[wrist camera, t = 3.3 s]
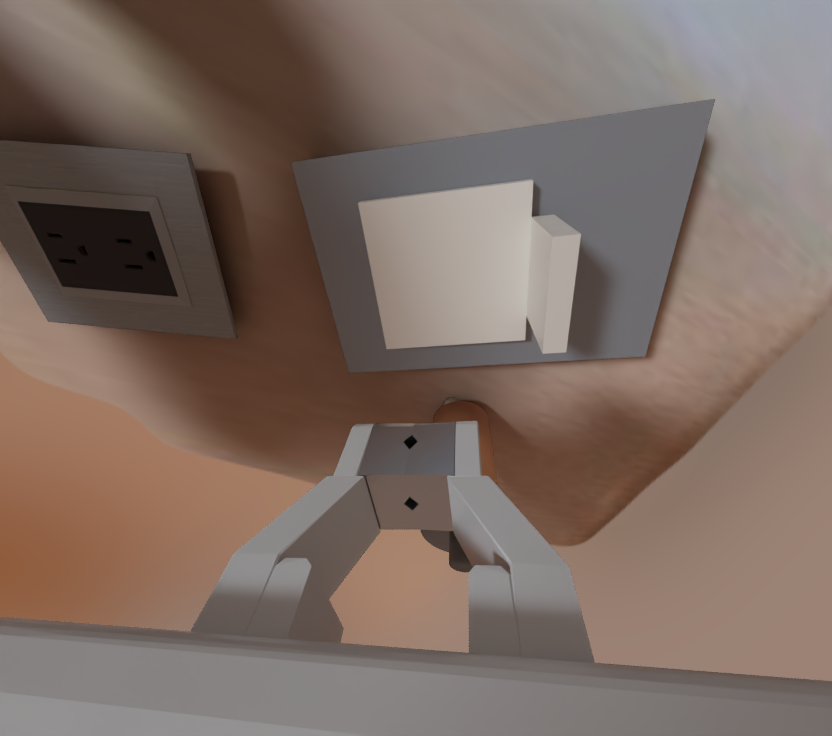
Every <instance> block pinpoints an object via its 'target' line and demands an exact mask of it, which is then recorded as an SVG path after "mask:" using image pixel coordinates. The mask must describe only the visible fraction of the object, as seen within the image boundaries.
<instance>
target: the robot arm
mask: <svg viewBox="0 0 832 736" xmlns="http://www.w3.org/2000/svg"><path fill="white" fill-rule="evenodd" d="M380 529H420V530H440V531H453V532H454V535H455V536H456V538H457V540H458V542H459V544H460V545H461V547H462V549H463V551H464V552H465V554H466V556H467V558H468V559H469V561H470V563H471V565H472V567H473V568H472V569H471V570H470V572H469V573H468V574H469V653H462V652H448V651H435V650H423V649H410V648H397V647H385V646H372V645H371V646H370V645H359V644H344V643H340V642H341V637H342V633H343V626H342V624H341V622H340V620H339V618H338V616H337V614H336V612H335V610H334V608H333V607H332V604H331V603H330V601H329V598H330V597H331V596H332V595H333V593H334V592H335V591H336V589H337V588H338V587H339V585H340V584H341V583H342V582H343V580H344V579H345V578H346V576H347V575H348V574H349V572H350V571H351V570H352V568H353V567H354V566H355V564H356V563H357V562H358V561H359V559H360V558H361V557H362V555H363V554H364V553H365V551H366V550H367V549H368V547H369V546H370V545H371V543H372V542H373V541H374V540H375V538H376V537H377V535H378V534H379V533H380ZM0 736H832V681H822V680H808V679H796V678H783V677H771V676H758V675H757V676H756V675H745V674H732V673H719V672H706V671H693V670H681V669H668V668H655V667H642V666H629V665H615V664H603V663H595V662H594V658H593V654H592V650H591V647H590V643H589V639H588V635H587V631H586V628H585V624H584V620H583V616H582V612H581V609H580V605H579V602H578V597H577V593H576V589H575V586H574V582H573V578H572V575H571V570H570V567H569V566H568V565H567V563H566V562H565V561H564V560H563V559H562V558H561V557H560V556H559V554H558V553H557V552H556V551H555V550H554V549H553V548H552V547H551V545H550V544H549V543H548V542H547V541H546V540H545V539H544V537H543V536H542V535H541V534H540V533H539V532H538V531H537V530H536V528H535V527H534V526H533V525H532V524H531V523H530V522H529V521H528V519H527V518H526V517H525V516H524V515H523V514H522V513H521V512H520V510H519V509H518V508H517V507H516V506H515V505H514V504H513V502H512V501H511V500H510V499H509V498H508V497H507V496H506V495H505V493H504V492H503V491H502V490H501V489H500V488H499V487H498V486H497V484H496V483H495V482H494V481H493V480H492V479H491V478H490V477H489V476H482V469H481V455H480V441H479V426H478V422H477V421H460V422H442V423H375V424H355V425H354V426H353V427H352V428H351V431H350V434H349V436H348V439H347V441H346V444H345V447H344V449H343V452H342V454H341V457H340V460H339V462H338V465H337V467H336V470H335V473H334V475H333V476H326V477H325V478H324V479H323V480H322V481H320V482H319V483H318V484H317V485H316V486H314V487H313V488H312V489H311V490H310V491H308V492H307V493H306V494H305V495H304V496H302V497H301V498H300V499H299V500H298V501H296V502H295V503H294V504H293V505H291V506H290V507H289V508H288V509H287V510H285V511H284V512H283V513H282V514H281V515H279V516H278V517H277V518H276V519H275V520H274V521H272V522H271V523H270V524H269V525H267V526H266V527H265V528H264V529H263V530H262V531H260V532H259V533H258V534H257V535H255V536H254V537H253V538H252V539H251V540H249V541H248V542H247V543H246V544H245V545H243V546H242V547H241V548H240V549H238V550H237V551H236V552H235V553H234V554H233V556H232V558H231V559H230V561H229V563H228V565H227V567H226V569H225V570H224V572H223V574H222V576H221V577H220V579H219V581H218V583H217V585H216V586H215V588H214V590H213V592H212V594H211V595H210V597H209V599H208V601H207V603H206V604H205V606H204V608H203V610H202V612H201V614H200V615H199V617H198V619H197V621H196V622H195V624H194V626H193V628H192V630H191V631H178V630H165V629H152V628H138V627H125V626H113V625H99V624H87V623H74V622H60V621H48V620H35V619H22V618H9V617H0Z"/></svg>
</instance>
